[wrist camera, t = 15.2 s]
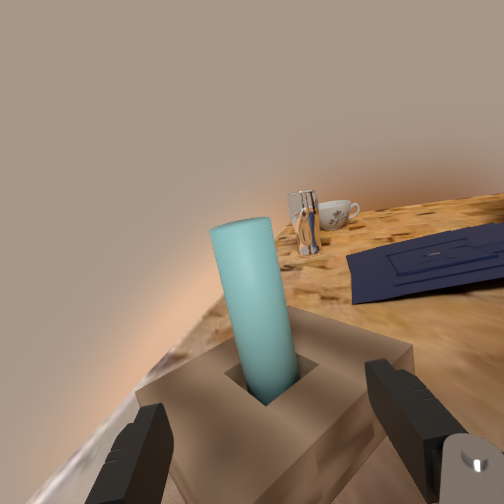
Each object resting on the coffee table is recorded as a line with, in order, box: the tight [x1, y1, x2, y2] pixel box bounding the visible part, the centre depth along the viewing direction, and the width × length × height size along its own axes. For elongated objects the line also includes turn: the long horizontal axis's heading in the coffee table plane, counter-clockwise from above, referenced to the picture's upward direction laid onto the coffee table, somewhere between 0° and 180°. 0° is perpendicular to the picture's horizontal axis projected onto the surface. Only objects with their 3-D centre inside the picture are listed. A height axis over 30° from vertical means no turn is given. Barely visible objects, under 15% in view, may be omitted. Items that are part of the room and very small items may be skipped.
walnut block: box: [135, 306, 415, 504], centre depth 24 cm, size 18×14×5 cm
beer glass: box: [287, 189, 323, 257], centre depth 69 cm, size 7×7×15 cm
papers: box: [346, 222, 504, 304], centre depth 48 cm, size 24×30×4 cm
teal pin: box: [209, 217, 300, 406], centre depth 23 cm, size 4×4×16 cm
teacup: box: [318, 200, 360, 230], centre depth 93 cm, size 15×12×8 cm
